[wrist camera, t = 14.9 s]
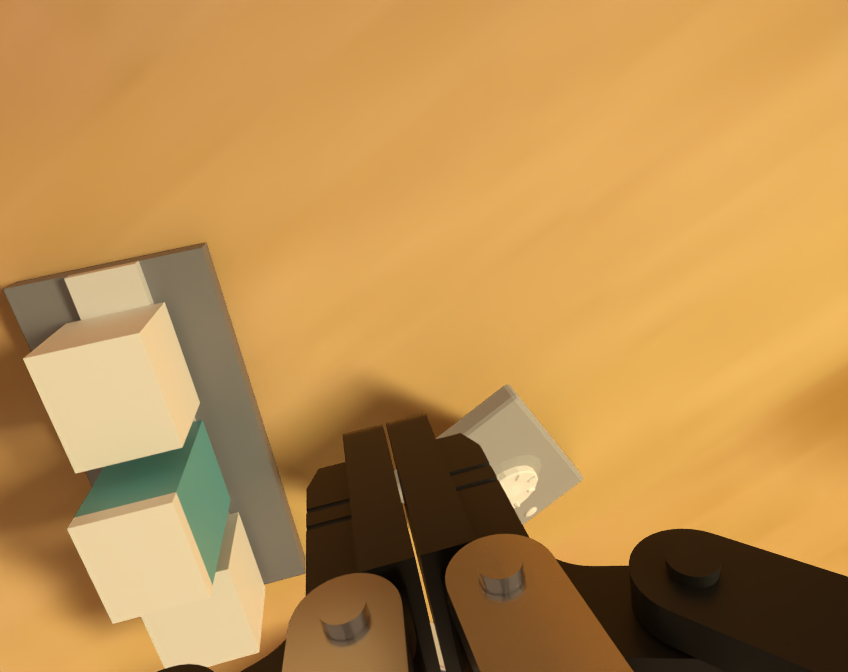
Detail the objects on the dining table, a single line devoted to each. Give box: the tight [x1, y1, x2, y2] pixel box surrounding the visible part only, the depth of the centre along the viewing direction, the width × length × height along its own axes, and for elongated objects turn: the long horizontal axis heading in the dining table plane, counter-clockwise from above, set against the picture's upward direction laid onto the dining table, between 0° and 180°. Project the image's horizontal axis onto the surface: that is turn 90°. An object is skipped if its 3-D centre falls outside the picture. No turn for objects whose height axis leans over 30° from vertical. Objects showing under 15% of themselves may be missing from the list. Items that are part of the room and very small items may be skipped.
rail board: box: [3, 243, 305, 669], centre depth 33 cm, size 22×10×7 cm, turn 10°
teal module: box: [67, 420, 231, 624], centre depth 31 cm, size 6×4×8 cm
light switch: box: [394, 384, 583, 525], centre depth 38 cm, size 8×6×14 cm
